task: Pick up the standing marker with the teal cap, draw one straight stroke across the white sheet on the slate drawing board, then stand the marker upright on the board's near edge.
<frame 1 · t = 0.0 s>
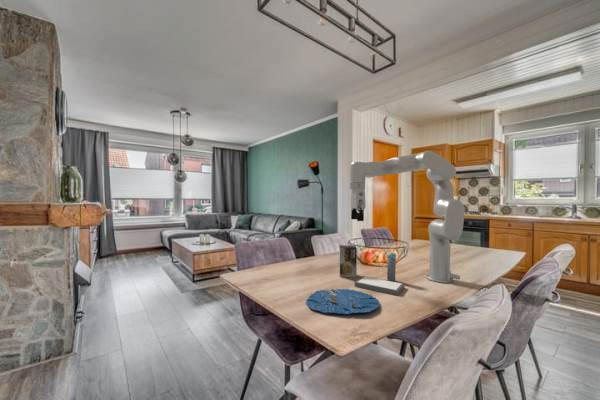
hand: (357, 220, 132), 31 cm above the table, tool pointing down, fingers open, 9 cm apart
drawing board: (379, 287, 123), on the table
marker: (391, 280, 133), on the table
decorative plate: (341, 304, 105), on the table
coffee box: (347, 276, 141), on the table
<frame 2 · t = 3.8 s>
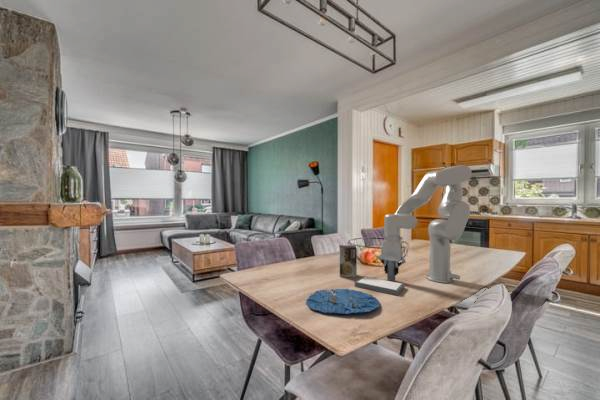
hand: (391, 273, 133), 4 cm above the table, tool pointing down, fingers closed on marker, 4 cm apart
marker: (391, 280, 133), on the table, touching gripper
everything else where it was.
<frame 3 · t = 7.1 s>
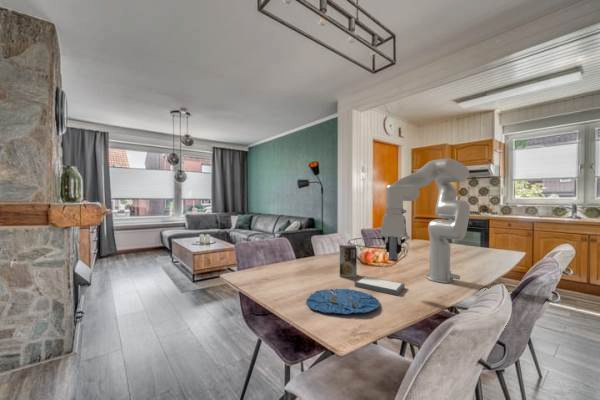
hand: (393, 252, 117), 18 cm above the table, tool pointing down, fingers closed on marker, 4 cm apart
marker: (393, 260, 117), point 14 cm above the table, touching gripper
everything else where it was.
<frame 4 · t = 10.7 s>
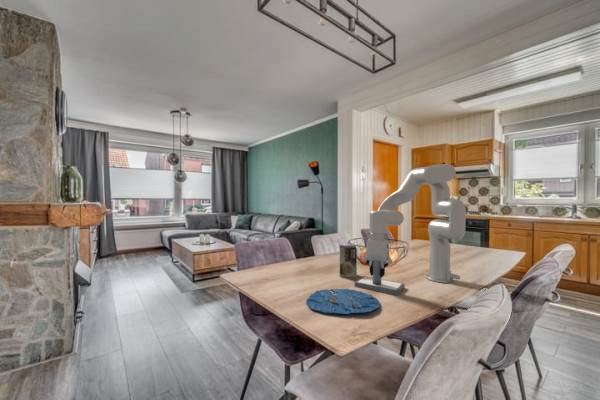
hand: (377, 275, 121), 6 cm above the table, tool pointing down, fingers closed on marker, 4 cm apart
marker: (376, 283, 121), point 2 cm above the table, touching gripper
everything else where it was.
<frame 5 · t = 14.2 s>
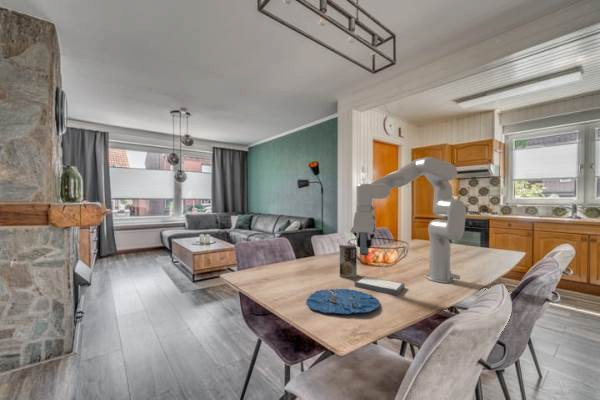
hand: (364, 246, 125), 19 cm above the table, tool pointing down, fingers closed on marker, 4 cm apart
marker: (364, 254, 125), point 15 cm above the table, touching gripper
everything else where it was.
when the fingers open (7 cm above the table, at t = 17.5 s): marker drops 1 cm, resting on drawing board.
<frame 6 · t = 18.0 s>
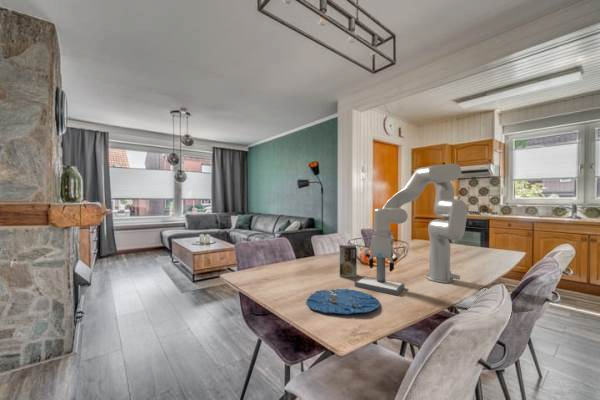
hand: (381, 269, 125), 8 cm above the table, tool pointing down, fingers open, 9 cm apart
marker: (381, 281, 125), point 2 cm above the table, touching drawing board
everything else where it was.
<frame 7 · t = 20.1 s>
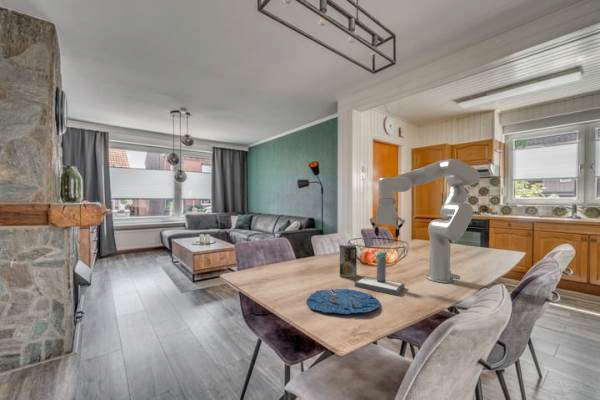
hand: (386, 236, 129), 23 cm above the table, tool pointing down, fingers open, 9 cm apart
nothing on the table moved.
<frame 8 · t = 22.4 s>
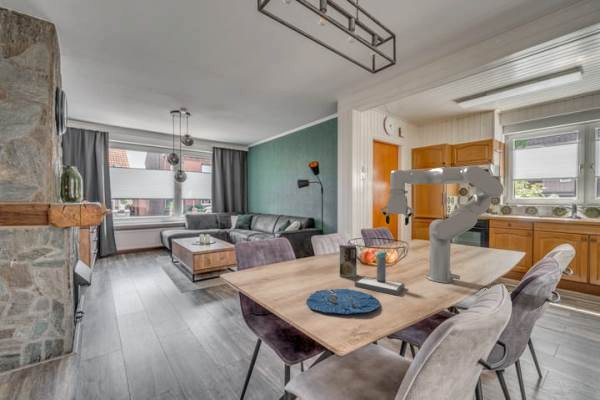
hand: (397, 224, 141), 28 cm above the table, tool pointing down, fingers open, 9 cm apart
nothing on the table moved.
at the end: marker inside the target area on the drawing board (0.0 cm from its centre), point 2.1 cm above the drawing board's base; marker tilted 1°; the gripper is holding nothing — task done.
